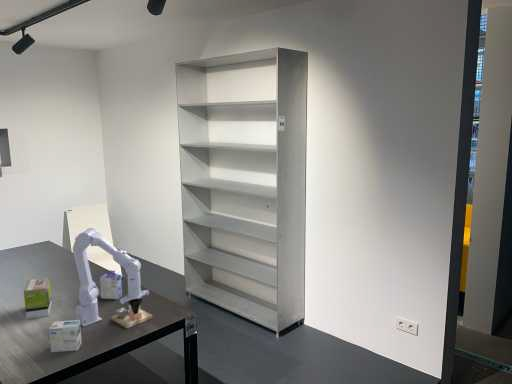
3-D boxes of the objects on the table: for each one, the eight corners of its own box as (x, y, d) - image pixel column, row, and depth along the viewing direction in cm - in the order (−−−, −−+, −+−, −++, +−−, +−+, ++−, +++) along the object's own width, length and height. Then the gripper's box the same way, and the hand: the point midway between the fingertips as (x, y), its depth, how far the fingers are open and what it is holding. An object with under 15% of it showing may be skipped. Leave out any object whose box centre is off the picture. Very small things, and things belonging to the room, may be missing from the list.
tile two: (133, 312, 204) (133, 307, 204) (128, 310, 206) (128, 305, 206) (140, 310, 207) (140, 305, 206) (135, 307, 209) (135, 302, 209)
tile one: (134, 320, 198) (134, 315, 197) (129, 317, 200) (129, 312, 200) (141, 317, 201) (141, 312, 200) (136, 315, 203) (136, 310, 203)
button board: (126, 328, 193) (126, 325, 193) (111, 319, 201) (111, 316, 201) (152, 318, 204) (152, 315, 203) (136, 310, 212) (136, 307, 212)
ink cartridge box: (122, 295, 230) (121, 270, 227) (118, 299, 224) (116, 273, 222) (105, 294, 231) (104, 269, 229) (100, 298, 226) (99, 272, 223)
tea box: (30, 306, 215) (28, 279, 213) (52, 304, 219) (50, 276, 216) (25, 319, 201) (23, 290, 199) (49, 316, 205) (46, 287, 202)
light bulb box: (82, 342, 180) (80, 319, 179) (78, 351, 174) (76, 326, 172) (55, 344, 179) (53, 320, 177) (50, 353, 172) (48, 328, 170)
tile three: (120, 317, 199) (120, 312, 198) (115, 315, 201) (115, 310, 201) (128, 314, 202) (127, 309, 201) (123, 312, 204) (123, 307, 204)
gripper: (125, 292, 190) (126, 320, 192) (152, 283, 201) (153, 310, 203) (116, 288, 194) (118, 316, 197) (143, 280, 205) (144, 306, 207)
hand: (135, 313), depth 200 cm, fingers closed, pressing on tile one
